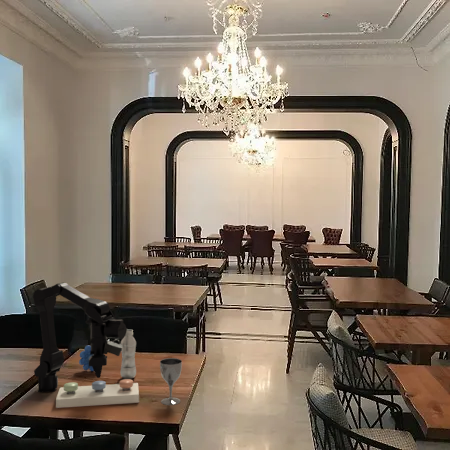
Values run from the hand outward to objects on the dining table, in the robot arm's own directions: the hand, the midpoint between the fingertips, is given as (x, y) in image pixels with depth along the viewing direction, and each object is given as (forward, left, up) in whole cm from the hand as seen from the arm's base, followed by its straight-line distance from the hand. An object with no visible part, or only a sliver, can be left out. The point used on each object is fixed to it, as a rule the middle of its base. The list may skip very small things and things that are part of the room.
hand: (98, 377), depth 189 cm
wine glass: (+26, -7, -8) cm, 28 cm away
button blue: (0, 0, -7) cm, 7 cm away
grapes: (-4, +33, -8) cm, 34 cm away
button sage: (-10, 0, -6) cm, 12 cm away
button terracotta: (+10, 0, -6) cm, 12 cm away
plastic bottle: (+11, +21, -8) cm, 25 cm away
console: (0, 0, -8) cm, 8 cm away
